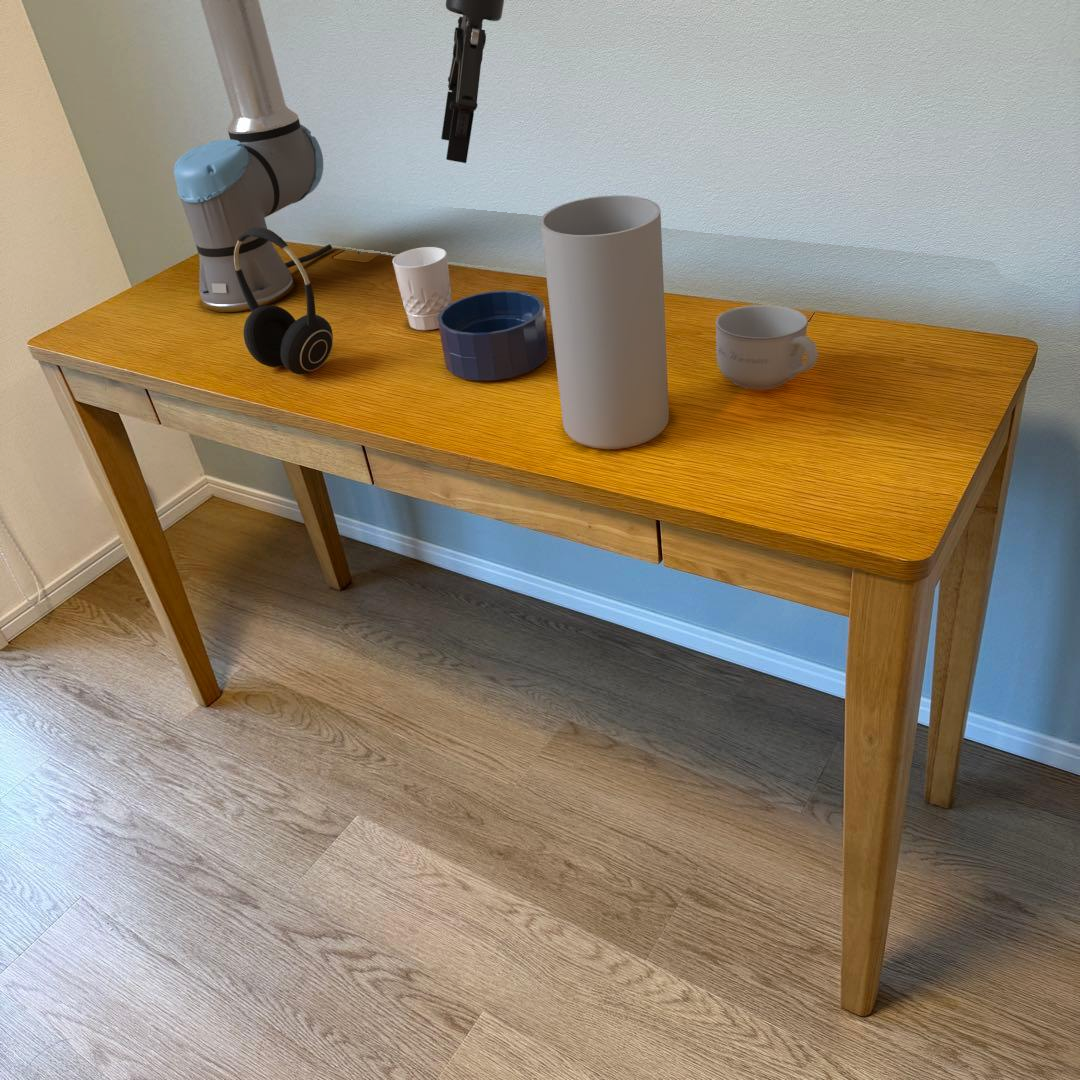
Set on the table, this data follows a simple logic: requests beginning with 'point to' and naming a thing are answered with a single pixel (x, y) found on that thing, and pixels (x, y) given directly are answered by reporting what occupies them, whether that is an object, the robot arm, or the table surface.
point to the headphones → (284, 323)
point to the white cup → (423, 285)
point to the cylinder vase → (608, 318)
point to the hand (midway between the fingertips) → (453, 150)
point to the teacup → (763, 345)
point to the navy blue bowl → (494, 335)
